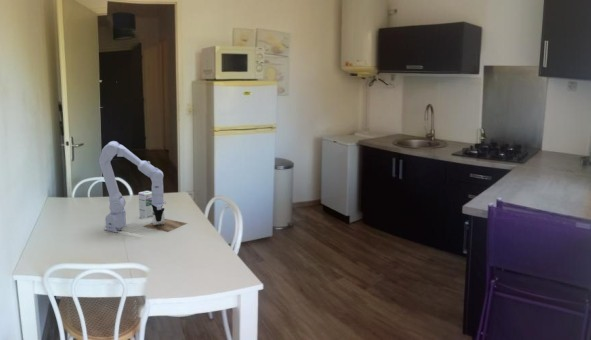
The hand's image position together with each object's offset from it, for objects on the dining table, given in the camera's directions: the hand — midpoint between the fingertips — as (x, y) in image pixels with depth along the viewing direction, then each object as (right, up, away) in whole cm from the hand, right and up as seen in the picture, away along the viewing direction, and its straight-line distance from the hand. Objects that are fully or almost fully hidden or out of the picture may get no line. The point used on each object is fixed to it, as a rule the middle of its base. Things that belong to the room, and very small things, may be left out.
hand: (158, 219), depth 247 cm
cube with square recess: (0, -2, 0) cm, 2 cm away
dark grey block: (0, -3, +1) cm, 3 cm away
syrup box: (-11, -1, +16) cm, 19 cm away
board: (+3, -4, +1) cm, 6 cm away
